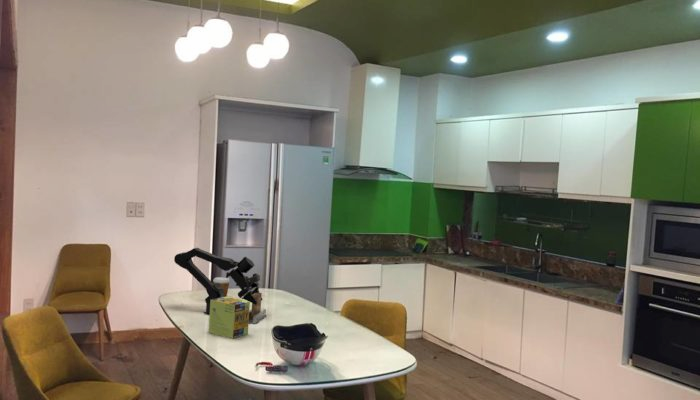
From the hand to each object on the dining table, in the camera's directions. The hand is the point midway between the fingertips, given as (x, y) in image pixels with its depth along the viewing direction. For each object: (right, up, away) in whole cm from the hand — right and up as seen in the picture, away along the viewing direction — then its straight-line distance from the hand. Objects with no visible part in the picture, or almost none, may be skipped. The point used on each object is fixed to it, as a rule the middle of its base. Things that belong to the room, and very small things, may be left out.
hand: (259, 302), depth 299 cm
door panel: (-2, -8, +1) cm, 8 cm away
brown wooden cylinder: (-29, -5, +39) cm, 49 cm away
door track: (-2, -8, -2) cm, 9 cm away
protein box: (-9, -9, -31) cm, 34 cm away
